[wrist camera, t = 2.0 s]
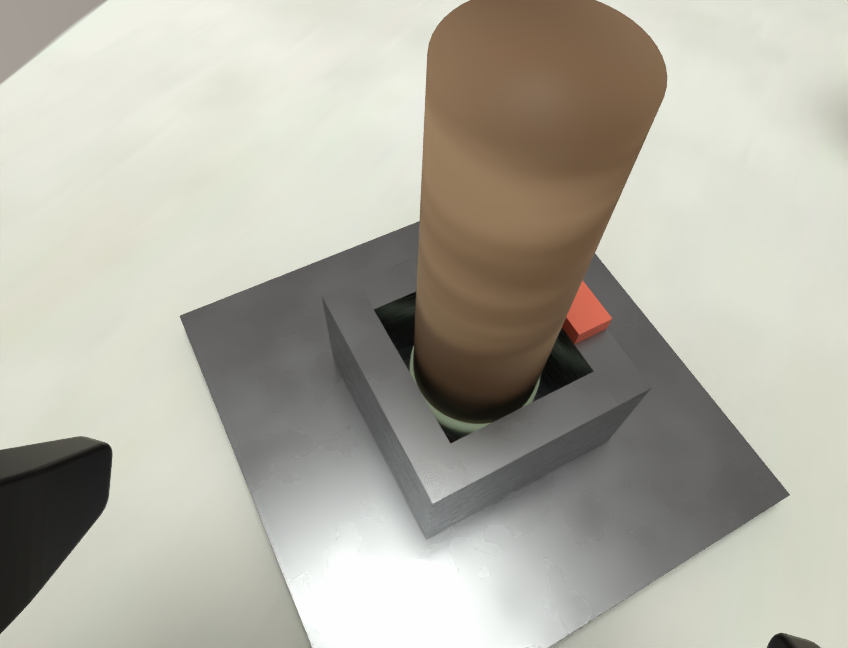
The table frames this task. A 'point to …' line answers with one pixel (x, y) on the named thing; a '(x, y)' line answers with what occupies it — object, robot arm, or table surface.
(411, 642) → the stand
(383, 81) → the table surface
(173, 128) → the table surface
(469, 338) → the post
